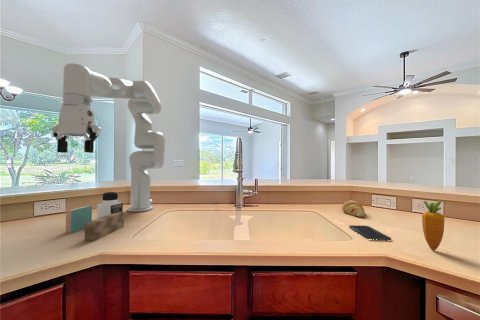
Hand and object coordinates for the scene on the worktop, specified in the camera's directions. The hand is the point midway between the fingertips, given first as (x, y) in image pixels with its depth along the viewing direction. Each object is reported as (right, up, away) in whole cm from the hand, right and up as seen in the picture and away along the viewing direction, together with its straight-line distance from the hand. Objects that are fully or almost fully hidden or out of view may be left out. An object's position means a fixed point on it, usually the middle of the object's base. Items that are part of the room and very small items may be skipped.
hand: (75, 152), depth 73 cm
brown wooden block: (+8, -29, +4) cm, 30 cm away
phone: (+103, -30, +6) cm, 107 cm away
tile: (-6, -29, +10) cm, 31 cm away
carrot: (+113, -30, -9) cm, 117 cm away
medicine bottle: (-3, -29, +24) cm, 38 cm away
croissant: (+114, -30, +39) cm, 124 cm away
